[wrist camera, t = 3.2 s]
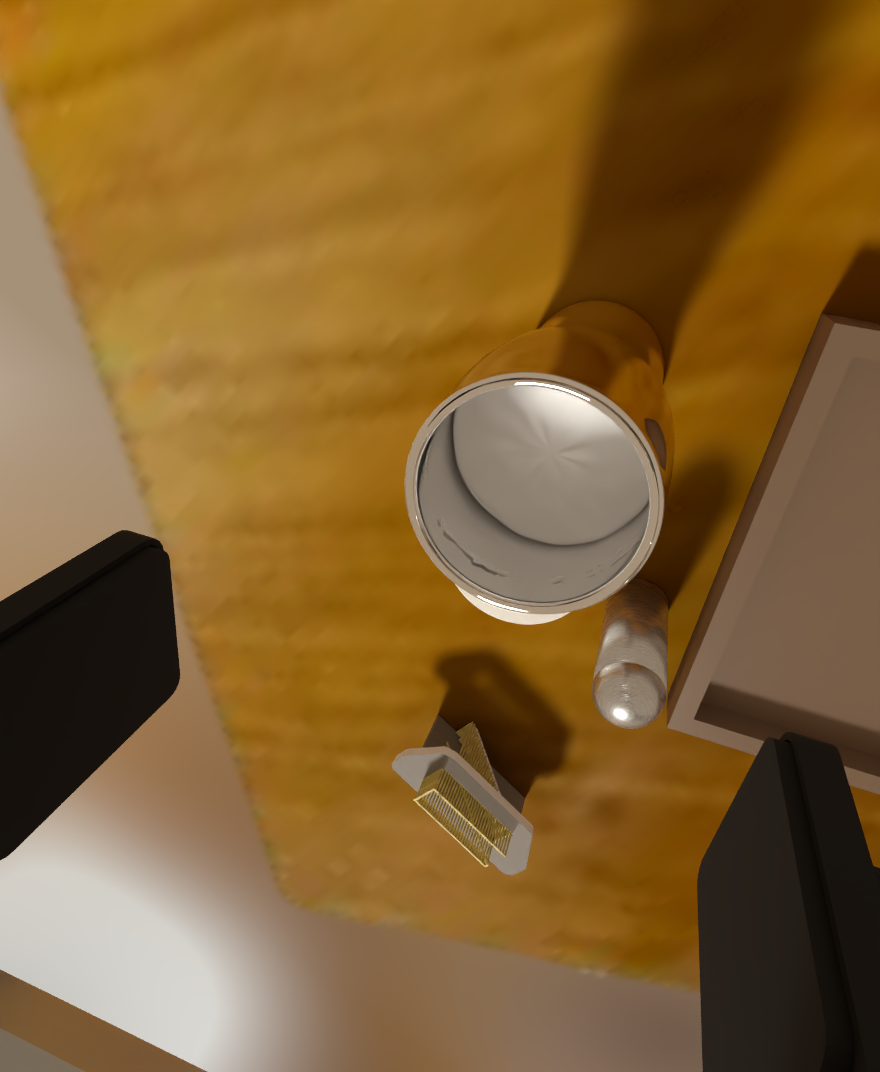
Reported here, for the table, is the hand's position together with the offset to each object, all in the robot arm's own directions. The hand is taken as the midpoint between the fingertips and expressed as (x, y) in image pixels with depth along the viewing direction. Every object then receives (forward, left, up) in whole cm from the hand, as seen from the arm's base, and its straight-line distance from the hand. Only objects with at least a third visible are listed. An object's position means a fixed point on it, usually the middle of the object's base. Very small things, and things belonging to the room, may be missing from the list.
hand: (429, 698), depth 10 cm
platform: (-24, 0, -23) cm, 34 cm away
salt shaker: (-11, -5, -23) cm, 25 cm away
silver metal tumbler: (0, 0, -23) cm, 23 cm away
